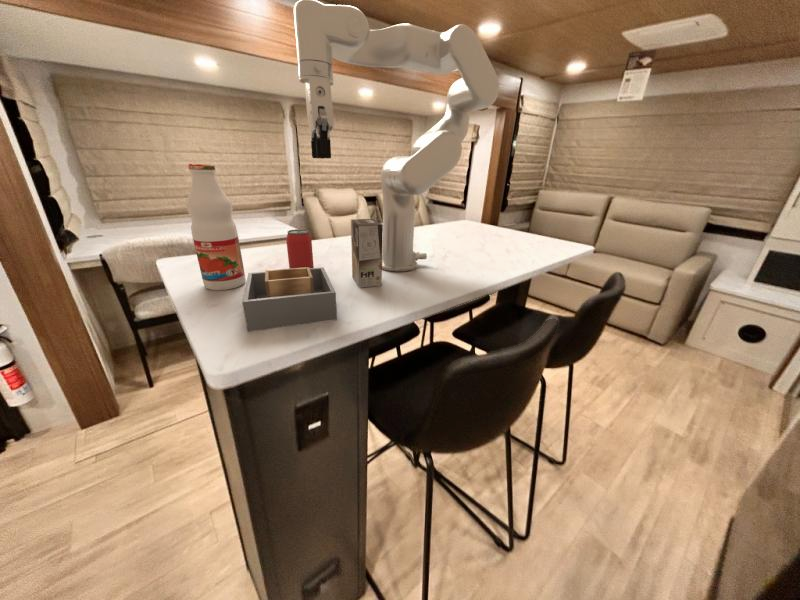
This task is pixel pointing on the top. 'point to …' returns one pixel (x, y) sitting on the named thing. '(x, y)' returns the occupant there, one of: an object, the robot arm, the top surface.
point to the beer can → (299, 249)
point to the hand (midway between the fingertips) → (321, 158)
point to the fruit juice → (214, 231)
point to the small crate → (288, 282)
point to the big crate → (288, 303)
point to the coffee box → (366, 252)
